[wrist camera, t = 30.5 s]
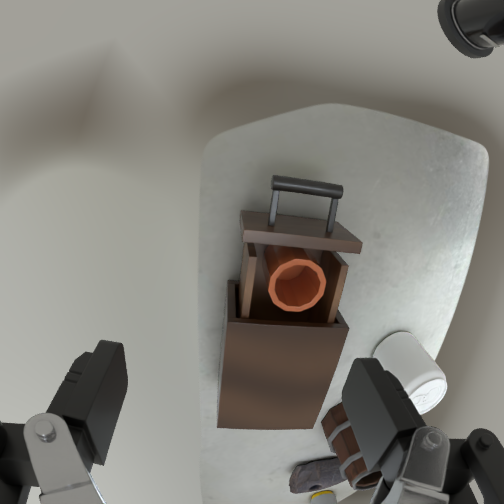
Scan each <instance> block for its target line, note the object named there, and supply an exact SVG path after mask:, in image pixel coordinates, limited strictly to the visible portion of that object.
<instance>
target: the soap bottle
mask: <svg viewBox="0 0 504 504" xmlns="http://www.w3.org/2000/svg"><path fill="white" fill-rule="evenodd" d="M310 503H311V504H337V500H336V496H335V494H333V493H332V492H331V491H322V492H318V493H316V494H314V495H313V496H312V499H311V501H310Z"/></svg>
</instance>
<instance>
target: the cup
mask: <svg viewBox="0 0 504 504" xmlns="http://www.w3.org/2000/svg"><path fill="white" fill-rule="evenodd" d="M262 268H263V272H264V276H265V280H266V284H267V289H268V292H269V294H270V297H271V299H272V301H273V303H274V304H275V305H277V306H278V307H280V308H282V309H283V310H285V311H295V312H301V311H303V310H305V309H308V308H310V307H313V306H314V305H315V304H316V303H317V302H318V300H319V299H320V298H321V297H322V296H323V294H324V290H325V285H326V279H325V276H324V273H323V270H322V268H321V267H320V265H319V264H318V262H317V261H316V259H315V258H314V256H313V255H312V254H311V252H310V251H309V249H308V248H298V247H288V246H279V245H269V246H268V247H267V248H266V250H265V252H264V254H263V258H262Z"/></svg>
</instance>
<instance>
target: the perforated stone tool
mask: <svg viewBox="0 0 504 504" xmlns="http://www.w3.org/2000/svg"><path fill="white" fill-rule="evenodd" d="M340 466H341V463H340V461H339V459H338V458H335V459H331V460H328V459H327V460H321V461H314V462H311V463H308V464H307V465H299V466H297V467H296V469H295V470H294V471H293V472H292V475H291V477H290V480H289V482H290V483H289V486H290V492H292V493H295V494H297V493H304V492H312V491H317V490H321V489H324V488H327V487H331V486H333V485H336V484H339V483H341V482H343V481H345V480H347V479H343V478H342V476H341V473H340V469H339V468H340Z"/></svg>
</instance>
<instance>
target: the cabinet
mask: <svg viewBox="0 0 504 504" xmlns="http://www.w3.org/2000/svg"><path fill="white" fill-rule="evenodd" d="M239 282H240V281H232V280H228V281H227V290H226V300H225V310H224V320H223V330H222V341H221V351H220V362H219V373H218V396H217V428H229V429H258V430H285V429H313V427H314V424H315V422H316V419H317V417H318V415H319V412H320V410H321V407H322V404H323V402H324V399H325V397H326V394H327V391H328V389H329V386H330V383H331V381H332V378H333V375H334V372H335V370H336V367H337V364H338V361H339V358H340V355H341V352H342V349H343V346H344V343H345V340H346V337H347V334H348V331H349V327H348V325H347V324H346V322H345V320H344V318H343V317H342V315H341V313H340V312H339V310H338V309H337V313H336V317H335V320H334V323H308V322H288V321H271V320H256V319H242V318H236V307H237V298H238V290H239Z"/></svg>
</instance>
